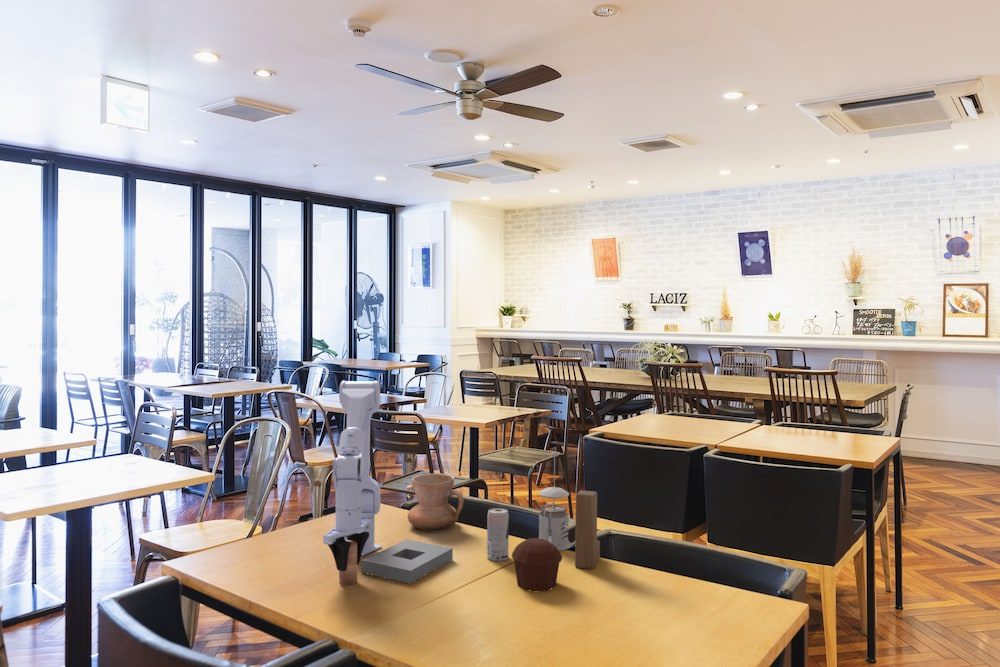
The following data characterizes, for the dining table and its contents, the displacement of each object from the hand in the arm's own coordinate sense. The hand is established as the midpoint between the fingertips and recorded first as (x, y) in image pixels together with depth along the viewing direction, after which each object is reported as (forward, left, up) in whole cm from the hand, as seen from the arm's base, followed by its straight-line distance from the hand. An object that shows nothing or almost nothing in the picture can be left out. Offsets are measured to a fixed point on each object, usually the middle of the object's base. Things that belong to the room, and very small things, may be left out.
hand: (348, 567), depth 162 cm
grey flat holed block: (+6, +15, -3) cm, 17 cm away
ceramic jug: (-6, +45, -4) cm, 46 cm away
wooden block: (+43, +39, -4) cm, 58 cm away
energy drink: (+22, +31, -4) cm, 38 cm away
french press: (+30, +47, -4) cm, 56 cm away
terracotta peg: (0, 0, -3) cm, 3 cm away
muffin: (+38, +20, -4) cm, 43 cm away
